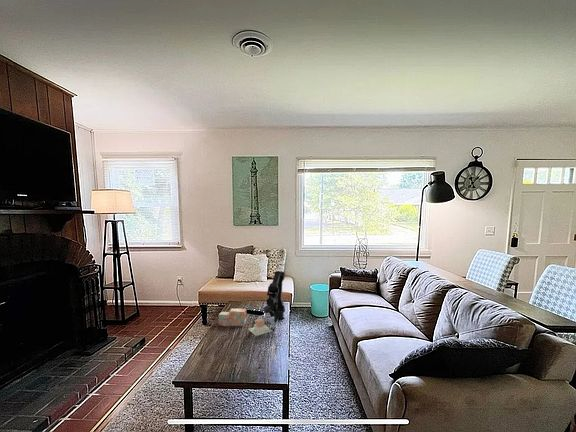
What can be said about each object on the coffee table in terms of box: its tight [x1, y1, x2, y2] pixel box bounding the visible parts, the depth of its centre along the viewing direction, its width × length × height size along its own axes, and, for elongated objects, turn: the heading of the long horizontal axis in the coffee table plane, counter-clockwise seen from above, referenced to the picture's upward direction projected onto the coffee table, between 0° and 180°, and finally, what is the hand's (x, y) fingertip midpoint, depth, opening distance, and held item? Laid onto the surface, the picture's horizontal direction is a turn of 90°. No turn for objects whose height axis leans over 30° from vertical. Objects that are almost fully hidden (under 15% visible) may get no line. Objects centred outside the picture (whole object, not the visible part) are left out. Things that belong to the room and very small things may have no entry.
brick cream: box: [253, 323, 267, 333], centre depth 209 cm, size 7×7×4 cm
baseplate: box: [248, 325, 273, 337], centre depth 209 cm, size 14×14×1 cm
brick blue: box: [269, 316, 279, 326], centre depth 213 cm, size 5×5×4 cm
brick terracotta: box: [255, 318, 265, 327], centre depth 209 cm, size 5×5×4 cm
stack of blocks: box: [218, 308, 247, 327], centre depth 221 cm, size 21×6×12 cm, turn 82°
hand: (273, 321), depth 213 cm, fingers closed on brick blue, 5 cm apart
